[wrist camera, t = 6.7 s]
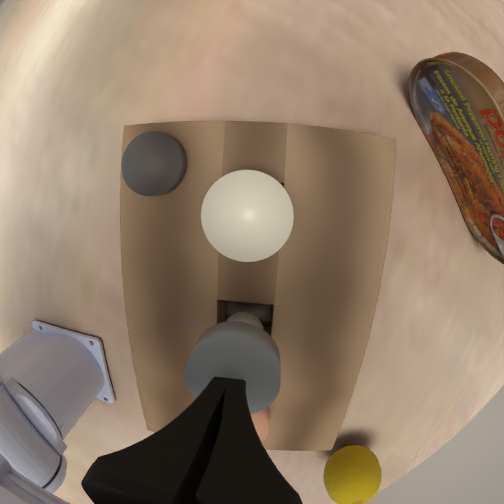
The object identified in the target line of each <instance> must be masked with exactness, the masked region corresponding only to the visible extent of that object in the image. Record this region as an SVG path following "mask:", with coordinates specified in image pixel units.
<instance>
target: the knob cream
mask: <svg viewBox="0 0 504 504" xmlns="http://www.w3.org/2000/svg"><path fill="white" fill-rule="evenodd" d="M293 221H294V212H293V206H292V202H291V200H290V197H289V195H288V193H287V192H286V190H285V189H284V187H283V186H282V185H281V184H280V183H279V182H278V181H277V180H275V179H274V178H273V177H271V176H269V175H268V174H265V173H263V172H259V171H256V170H239V171H234V172H231V173H229V174H226V175H225V176H223V177H221V178H220V179H219V180H217V181H216V182H215V183H214V184H213V185H212V186H211V188H210V189H209V190H208V192H207V194H206V196H205V198H204V201H203V204H202V209H201V222H202V227H203V230H204V233H205V235H206V237H207V239H208V241H209V242H210V243H211V245H212V246H213V247H214V248H215V249H216V250H217V251H218V252H220V253H221V254H222V255H224V256H226V257H228V258H230V259H233V260H236V261H242V262H254V261H259V260H263V259H265V258H268V257H270V256H271V255H273V254H274V253H276V252H277V251H278V250H279V249H280V248H281V247H282V246H283V245H284V244H285V242H286V241H287V239H288V238H289V235H290V233H291V230H292V227H293Z"/></svg>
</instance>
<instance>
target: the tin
mask: <svg viewBox="0 0 504 504" xmlns="http://www.w3.org/2000/svg"><path fill="white" fill-rule="evenodd" d="M409 97H410V103H411V106H412V109H413V112H414V115H415V118H416V120H417V122H418V124H419V126H420V128H421V130H422V132H423V134H424V135H425V137H426V139H427V141H428V142H429V144H430V146H431V148H432V150H433V152H434V153H435V155H436V157H437V159H438V161H439V163H440V165H441V167H442V169H443V171H444V173H445V175H446V177H447V180H448V182H449V184H450V186H451V189H452V191H453V193H454V195H455V198H456V200H457V202H458V205H459V207H460V210H461V212H462V215H463V217H464V219H465V221H466V223H467V225H468V227H469V228H470V230H471V232H472V233H473V235H474V236H475V238H476V239H477V240H478V242H479V243H480V244H481V245H482V247H483V248H484V249H485V250H486V251H487V252H488V253H489V254H490V255H491V256H493V257H494V258H495V259H497V260H498V261H499V262H501V263H502V264H504V83H503V81H502V80H501V79H500V78H499V76H498V75H497V74H496V73H495V72H494V71H493V70H492V69H491V68H489V67H488V66H487V65H485V64H484V63H483V62H481V61H480V60H478V59H476V58H474V57H472V56H469V55H467V54H463V53H457V52H450V53H444V54H441V55H438V56H436V57H434V58H428V59H425V60H422V61H420V62H419V63H418V64H417V65H416V66H415V67H414V68H413V70H412V72H411V74H410V78H409Z"/></svg>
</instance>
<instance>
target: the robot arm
mask: <svg viewBox="0 0 504 504" xmlns="http://www.w3.org/2000/svg"><path fill="white" fill-rule="evenodd" d="M32 327H33V330H32V331H31V332H29V333H28V334H26V335H25V336H23V337H22V338H21V339H19V340H18V341H16V342H15V343H14V344H12V345H11V346H10V347H8V348H7V349H6V350H4V351H3V352H2V353H1V354H0V504H70V503H68V502H66V501H64V500H62V499H60V498H59V497H57V496H55V495H53V493H54V492H55V491H56V490H57V489H58V488H59V487H60V486H61V484H62V483H63V481H64V478H65V476H66V469H67V461H66V458H65V457H64V455H63V453H64V451H65V450H66V448H67V445H66V444H65V443H64V442H63V439H64V438H65V437H66V435H67V434H68V433H69V431H70V430H71V429H72V427H73V426H74V425H75V423H76V422H77V421H78V420H79V418H80V417H81V416H82V414H83V413H84V412H85V410H86V409H87V408H88V407H89V405H90V404H91V403H92V401H93V400H94V399H98V400H101V401H105V402H108V403H111V404H113V403H114V402H115V397H114V393H113V389H112V386H111V382H110V378H109V374H108V369H107V365H106V361H105V356H104V351H103V346H102V342H101V341H100V339H98V338H96V337H92V336H88V335H84V334H81V333H77V332H73V331H70V330H66V329H63V328H59V327H56V326H53V325H49V324H46V323H43V322H40V321H37V320H34V321H32ZM81 485H82V487H83V489H84V491H85V492H86V493H87V495H88V496H89V497H90V499H91V500H92V501H93V502H94V504H303V503H302V501H301V499H300V496H299V494H298V493H297V492H296V491H295V490H294V489H293V488H292V487H291V485H290V484H289V483H288V482H287V481H286V480H285V478H284V477H283V476H282V474H281V473H280V472H279V471H278V469H277V468H276V466H275V465H274V463H273V462H272V460H271V458H270V457H269V455H268V454H267V452H266V450H265V448H264V446H263V444H262V442H261V440H260V438H259V436H258V434H257V431H256V429H255V426H254V423H253V421H252V417H251V414H250V410H249V407H248V402H247V397H246V381H245V380H241V379H232V378H224V377H216V376H215V377H213V378H212V379H211V381H210V382H209V383H208V385H207V386H206V387H205V389H204V390H203V391H202V392H201V393H200V395H199V396H198V397H197V398H196V399H195V400H194V401H193V402H192V403H191V404H190V405H189V406H188V407H187V408H186V409H185V410H184V411H183V412H182V413H181V414H179V415H178V416H177V417H176V418H175V419H174V420H172V421H171V422H170V423H169V424H167V425H166V426H164V427H163V428H162V429H160V430H159V431H157V432H155V433H154V434H152V435H151V436H149V437H147V438H145V439H144V440H142V441H140V442H138V443H136V444H133V445H131V446H129V447H127V448H125V449H122V450H119V451H116V452H113V453H110V454H107V455H104V456H100V457H98V458H97V459H96V461H95V462H94V463H93V464H92V465H91V467H90V468H89V470H88V472H87V473H86V475H85V477H84V478H83V480H82V482H81Z"/></svg>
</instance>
